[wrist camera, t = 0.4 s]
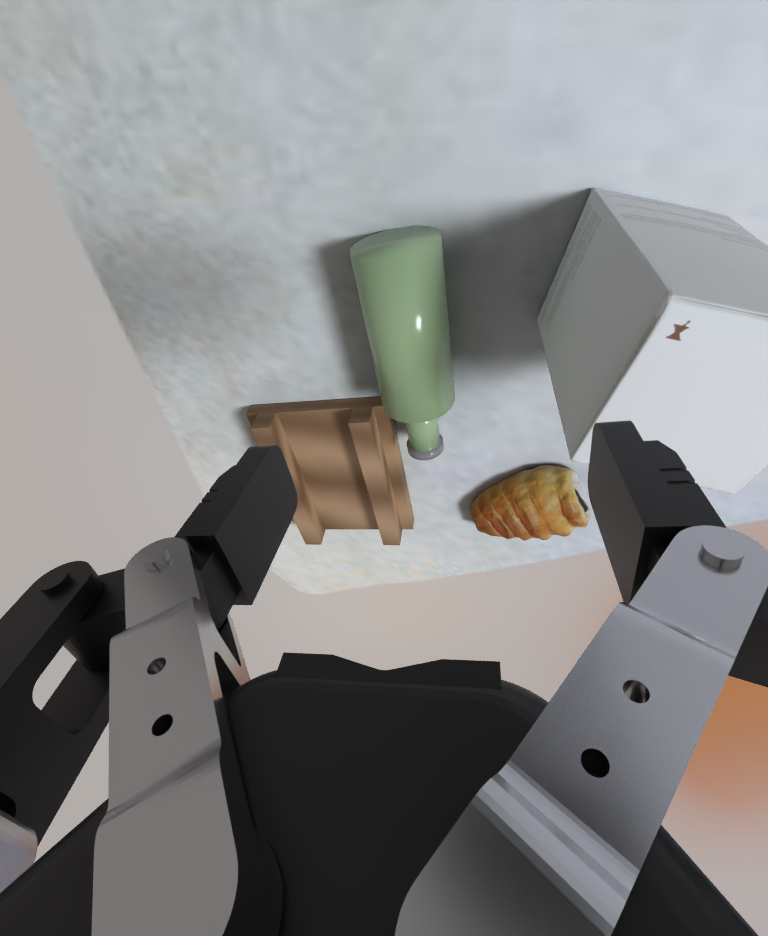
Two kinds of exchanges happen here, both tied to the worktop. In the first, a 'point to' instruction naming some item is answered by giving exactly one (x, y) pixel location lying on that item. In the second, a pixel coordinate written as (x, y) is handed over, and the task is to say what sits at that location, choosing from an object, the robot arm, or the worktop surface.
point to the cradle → (339, 464)
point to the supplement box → (663, 334)
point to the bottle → (408, 329)
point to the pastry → (532, 504)
